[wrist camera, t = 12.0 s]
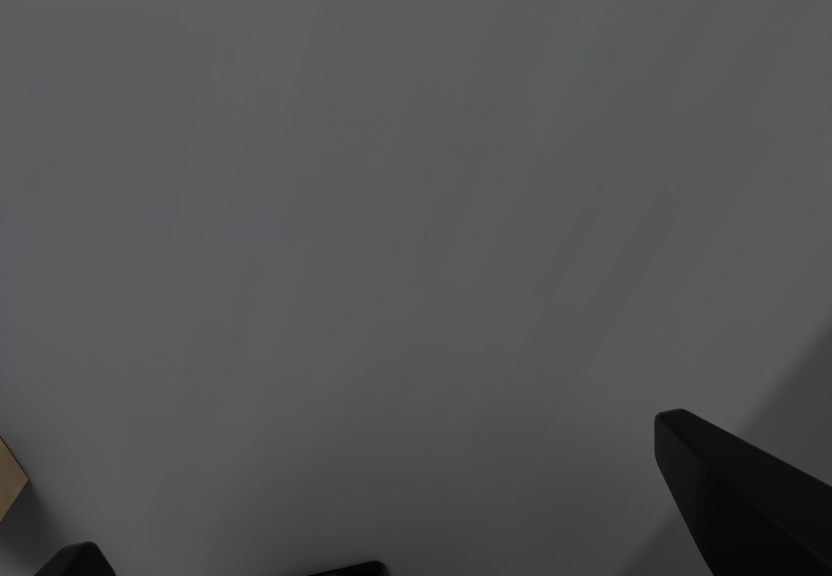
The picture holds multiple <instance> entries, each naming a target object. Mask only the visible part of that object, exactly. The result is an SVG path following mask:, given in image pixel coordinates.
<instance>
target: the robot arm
mask: <svg viewBox="0 0 832 576" xmlns="http://www.w3.org/2000/svg"><path fill="white" fill-rule="evenodd" d="M654 436H655V457H656V461H657V464H658V467H659V469H660V471H661V473H662V475H663V477H664V479H665V481H666V483H667V485H668V487H669V489H670V492H671V494H672V496H673V498H674V500H675V502H676V504H677V506H678V508H679V510H680V512H681V514H682V516H683V518H684V520H685V523H686V525H687V527H688V529H689V531H690V533H691V535H692V537H693V539H694V541H695V543H696V545H697V547H698V549H699V551H700V553H701V555H702V557H703V558H704V560H705V562H706V564H707V565H708V567H709V569H710V570H711V572H712V574H713V575H714V576H832V486H830V485H828V484H826V483H824V482H822V481H820V480H818V479H817V478H815V477H813V476H811V475H809V474H807V473H805V472H803V471H801V470H799V469H798V468H796V467H794V466H792V465H790V464H788V463H786V462H784V461H782V460H780V459H778V458H777V457H775V456H773V455H771V454H769V453H767V452H765V451H763V450H761V449H759V448H758V447H756V446H754V445H752V444H750V443H748V442H746V441H744V440H742V439H740V438H739V437H737V436H735V435H733V434H731V433H729V432H727V431H725V430H723V429H721V428H719V427H718V426H716V425H714V424H712V423H710V422H708V421H706V420H704V419H702V418H700V417H699V416H697V415H695V414H693V413H691V412H689V411H687V410H685V409H674V410H669V411H665V412H660V413H658V414H657V415H656V417H655V421H654ZM34 576H116V573H115V572H114V570H113V568H112V567H111V565H110V564H109V562H108V561H107V559H106V558H105V556H104V555H103V553H102V552H101V550H100V549H99V547H98V546H97V545H96V544H95V543H93V542H89V541H87V542H82V543H78V544H73V545H69V546H66V547H64V548H62V549H61V550H60V551H59V552H58V553H57V554H56V555H55V556H54V557H52V558H51V559H50V560H49V561H48V562H47V563H46V564H45V565H44V566H43V567H42V568H41V569H40V570H39V571H38V572H37V573H36V574H35V575H34ZM309 576H387V573H386V570H385V567H384V565H383V564H382V563H380V562H376V561H373V562H367V563H363V564H358V565H354V566H350V567H345V568H341V569H336V570H332V571H327V572H323V573H318V574H314V575H309Z"/></svg>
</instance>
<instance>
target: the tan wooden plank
mask: <svg viewBox="0 0 832 576" xmlns="http://www.w3.org/2000/svg"><path fill="white" fill-rule="evenodd" d="M27 481H28V478H27V476H26V475H25V473H24V472H23V470H22V469H21V467H20V466H19V464H18V463H17V462H16V460H15V459H14V457H13V456H12V454H11V453H10V451H9V450H8V448H7V447H6V446H5V444H4V443H3V441H2V440H1V438H0V522H1V520H2V519H3V517H4V516H5V514H6V513H7V511H8V510H9V508H10V507H11V505H12V504H13V502H14V501H15V499H16V498H17V496H18V495H19V493H20V491H21V490H22V488H23V487H24V485H25V484H26V482H27Z"/></svg>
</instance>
